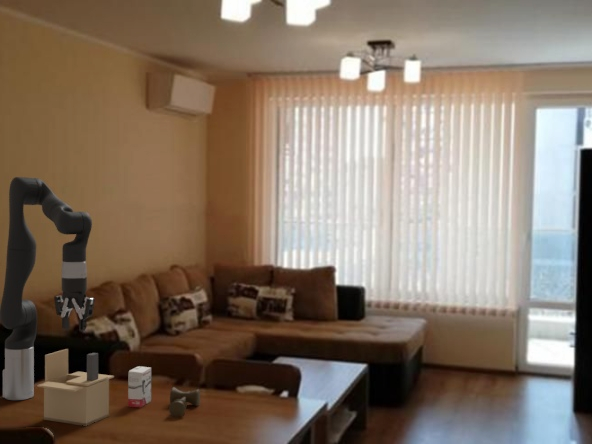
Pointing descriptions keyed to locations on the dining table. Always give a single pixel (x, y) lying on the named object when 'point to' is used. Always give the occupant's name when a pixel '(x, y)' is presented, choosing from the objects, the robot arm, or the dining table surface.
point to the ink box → (139, 386)
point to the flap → (89, 373)
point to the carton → (72, 394)
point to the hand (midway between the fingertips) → (74, 329)
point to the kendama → (182, 401)
